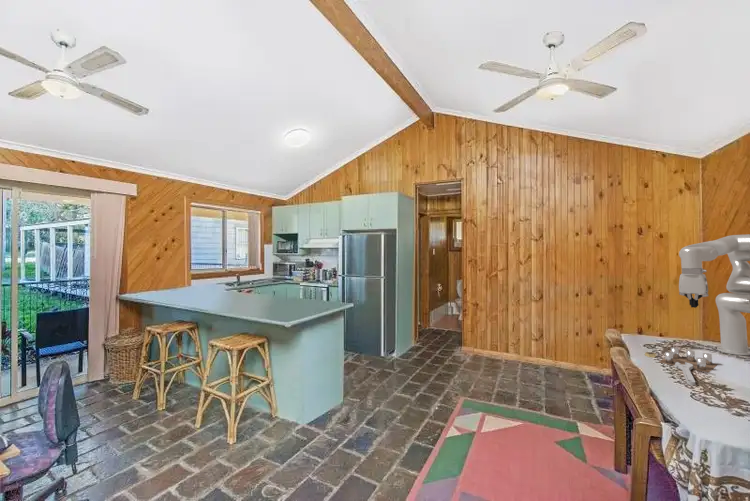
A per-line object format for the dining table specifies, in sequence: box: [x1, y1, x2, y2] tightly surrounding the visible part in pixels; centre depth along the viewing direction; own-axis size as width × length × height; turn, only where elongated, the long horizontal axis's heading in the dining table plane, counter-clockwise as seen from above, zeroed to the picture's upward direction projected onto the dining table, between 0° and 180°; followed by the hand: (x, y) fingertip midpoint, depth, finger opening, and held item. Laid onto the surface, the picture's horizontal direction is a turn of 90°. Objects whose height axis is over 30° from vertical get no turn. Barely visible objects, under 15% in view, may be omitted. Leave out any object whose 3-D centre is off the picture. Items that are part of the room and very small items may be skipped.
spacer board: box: [658, 356, 719, 373], centre depth 157 cm, size 16×18×1 cm
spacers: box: [664, 347, 713, 371], centre depth 157 cm, size 13×15×5 cm
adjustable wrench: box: [674, 362, 696, 386], centre depth 145 cm, size 25×6×2 cm, turn 137°
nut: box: [644, 351, 657, 359], centre depth 169 cm, size 4×5×2 cm
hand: (694, 307), depth 162 cm, fingers closed
